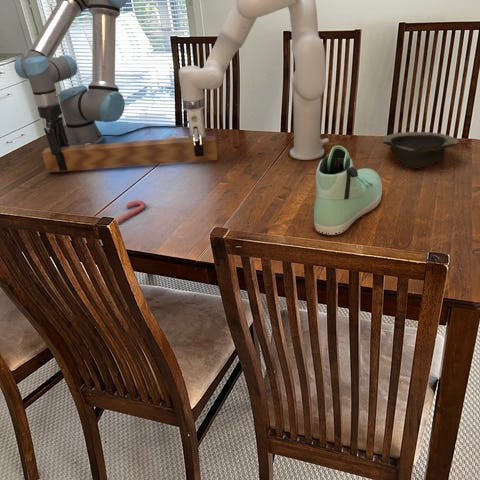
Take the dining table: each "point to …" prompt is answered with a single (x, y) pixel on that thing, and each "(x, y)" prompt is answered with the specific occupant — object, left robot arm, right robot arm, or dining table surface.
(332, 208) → the sneaker
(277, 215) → the dining table surface
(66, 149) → the post
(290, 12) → the right robot arm
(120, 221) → the candy cane
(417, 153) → the stone bowl
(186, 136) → the baking ingredient package
